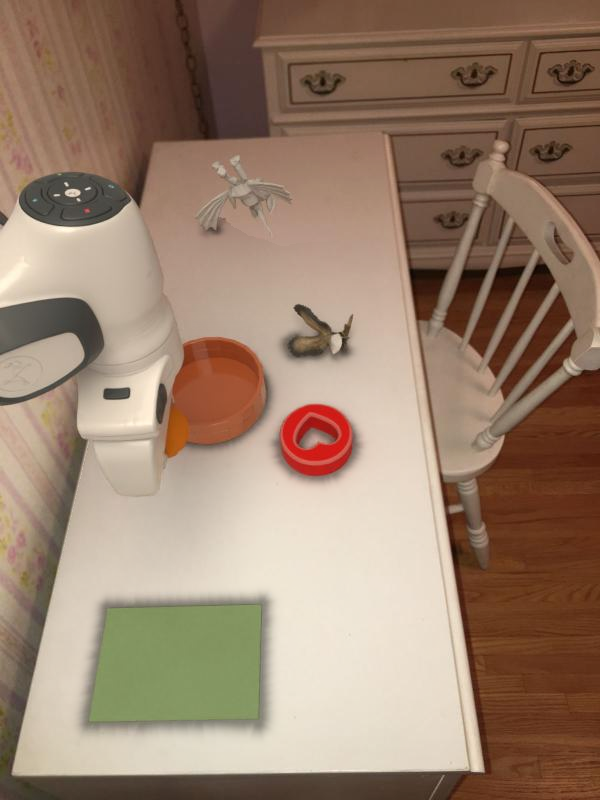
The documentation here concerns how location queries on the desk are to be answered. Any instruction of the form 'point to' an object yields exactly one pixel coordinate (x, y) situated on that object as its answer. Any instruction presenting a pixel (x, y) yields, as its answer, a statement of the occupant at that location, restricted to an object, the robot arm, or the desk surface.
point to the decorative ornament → (321, 455)
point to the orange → (176, 432)
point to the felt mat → (179, 664)
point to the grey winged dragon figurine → (242, 195)
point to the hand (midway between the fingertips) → (163, 435)
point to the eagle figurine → (323, 340)
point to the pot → (219, 389)
